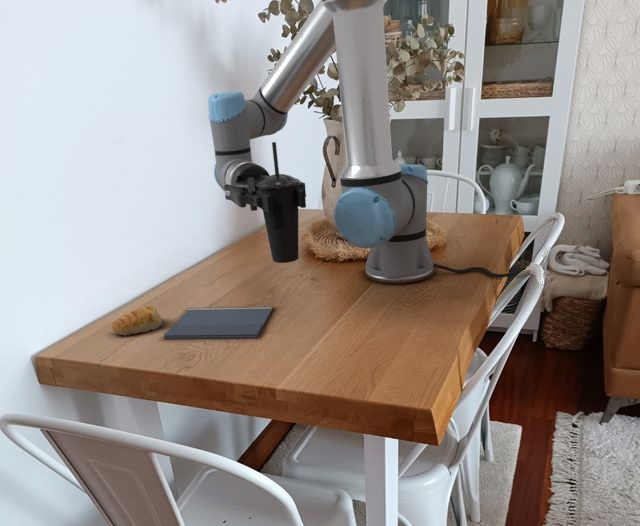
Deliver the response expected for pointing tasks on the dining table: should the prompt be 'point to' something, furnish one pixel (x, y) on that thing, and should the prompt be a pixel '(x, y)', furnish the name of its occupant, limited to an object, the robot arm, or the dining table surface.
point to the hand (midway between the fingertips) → (286, 202)
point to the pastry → (137, 321)
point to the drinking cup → (281, 214)
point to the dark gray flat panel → (220, 323)
